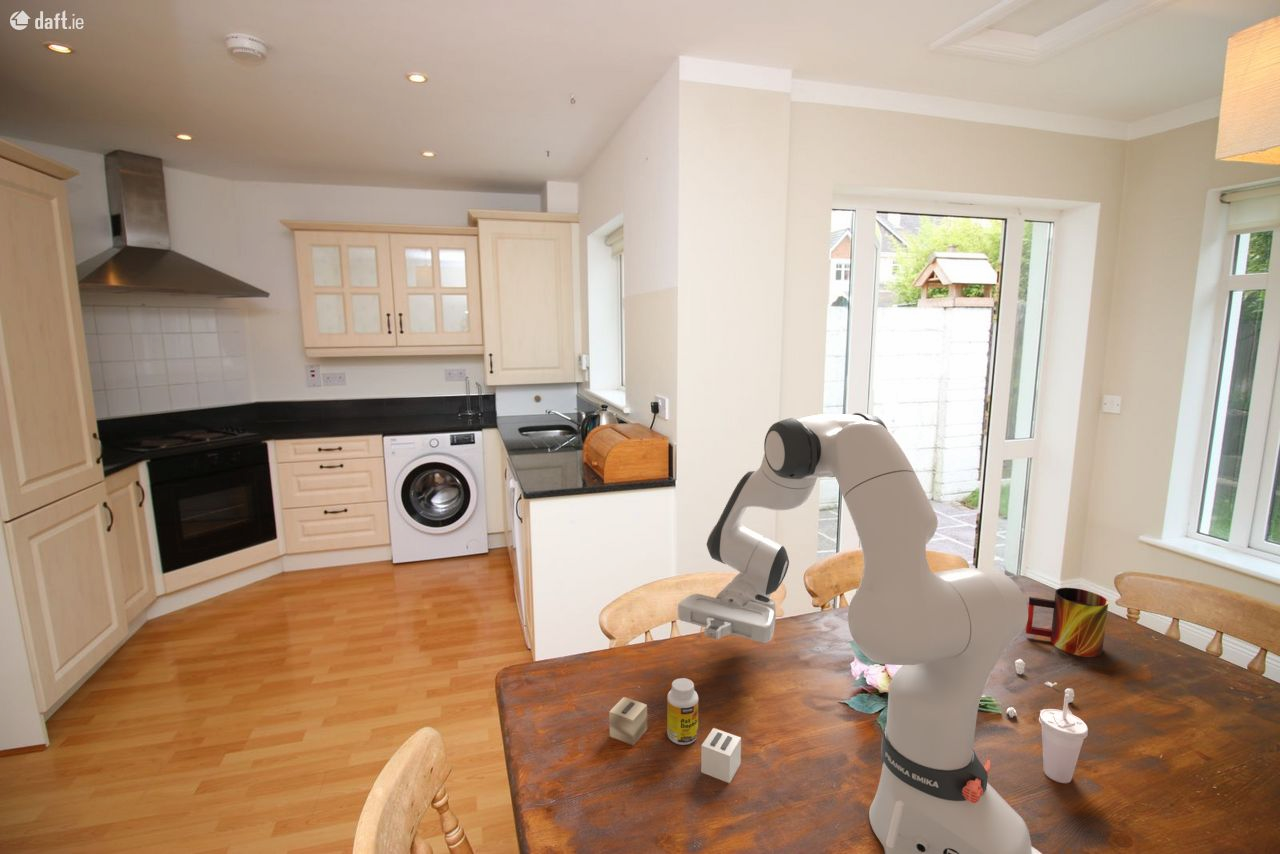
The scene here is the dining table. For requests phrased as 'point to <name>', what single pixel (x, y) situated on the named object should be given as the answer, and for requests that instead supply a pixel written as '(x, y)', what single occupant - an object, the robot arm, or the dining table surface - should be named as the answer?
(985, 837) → the robot arm
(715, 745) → the marked off-white block
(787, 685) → the dining table surface
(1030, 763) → the dining table surface
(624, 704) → the marked birch block
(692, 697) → the supplement bottle
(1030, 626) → the mug
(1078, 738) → the smoothie
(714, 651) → the dining table surface
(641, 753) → the dining table surface
